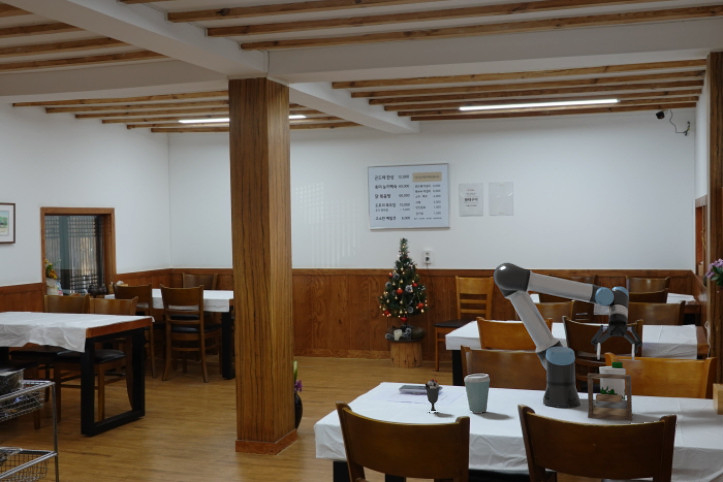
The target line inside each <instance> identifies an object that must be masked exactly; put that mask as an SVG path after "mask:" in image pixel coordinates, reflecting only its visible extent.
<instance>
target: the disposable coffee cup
mask: <svg viewBox="0 0 723 482" xmlns="http://www.w3.org/2000/svg"><path fill="white" fill-rule="evenodd" d="M489 376H490V374H487V373H473V374H469V375H466V376H464V379H463V380H464V384H465V386H464V387H465V391H466V397H467V402H468V408H469V411H472V412H477V413H476V414H483V413H482V412H485V413H486V412H487V410H488V400H489V391H490V381H491V378H490V377H489Z"/></svg>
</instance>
